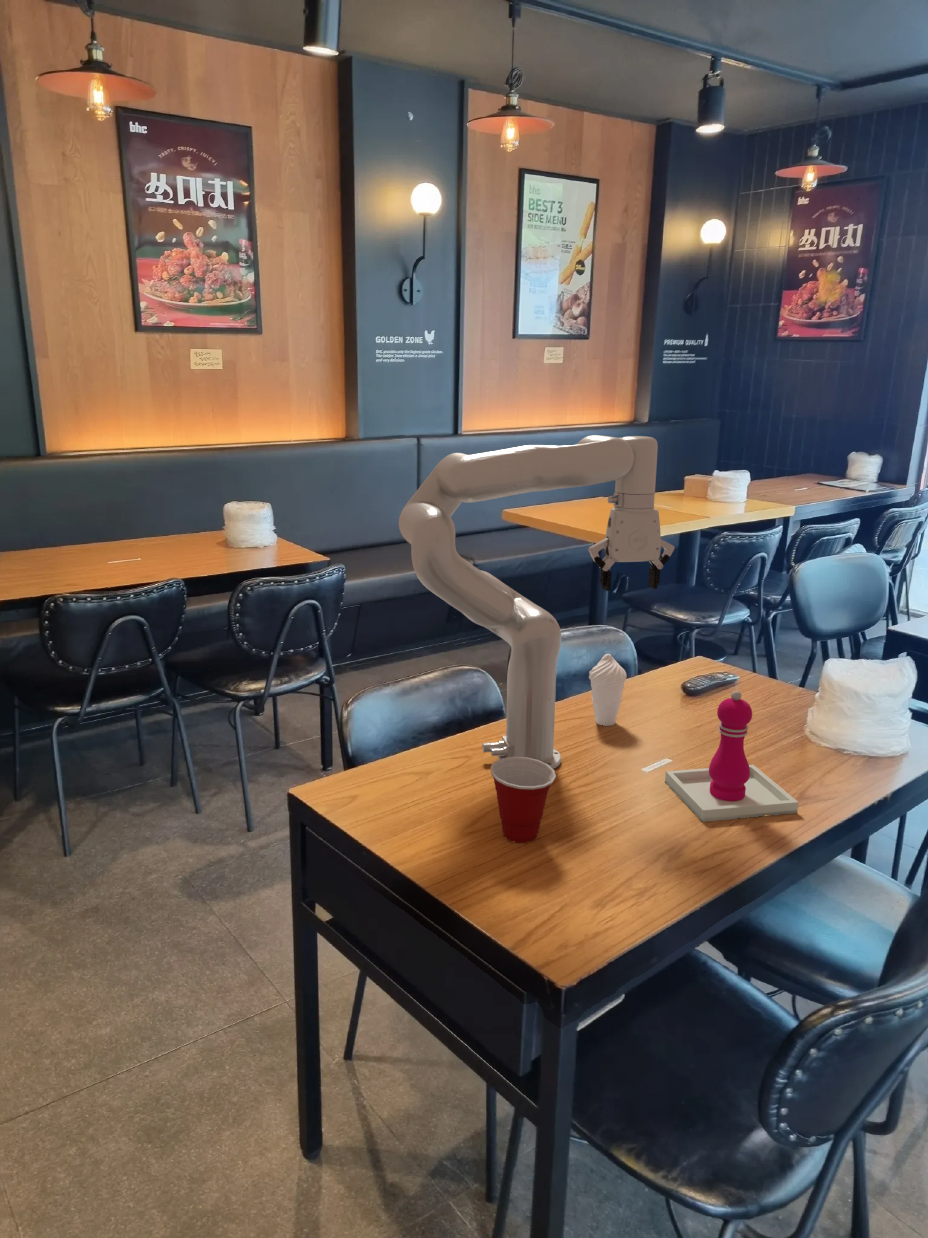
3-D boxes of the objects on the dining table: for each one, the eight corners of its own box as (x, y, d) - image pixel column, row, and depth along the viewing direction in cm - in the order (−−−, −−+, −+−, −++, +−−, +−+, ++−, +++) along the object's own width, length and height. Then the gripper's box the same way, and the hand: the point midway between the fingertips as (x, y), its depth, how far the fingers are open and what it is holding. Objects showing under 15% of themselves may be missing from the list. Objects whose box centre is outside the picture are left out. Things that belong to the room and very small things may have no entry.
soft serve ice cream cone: (626, 730, 192) (631, 660, 188) (588, 729, 192) (592, 660, 188) (620, 716, 200) (624, 649, 196) (584, 715, 200) (587, 648, 196)
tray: (702, 822, 151) (703, 810, 151) (665, 782, 167) (665, 771, 166) (797, 813, 155) (798, 802, 154) (752, 775, 170) (753, 764, 169)
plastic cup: (535, 858, 139) (537, 789, 136) (477, 840, 145) (477, 773, 142) (564, 830, 148) (567, 765, 145) (508, 814, 154) (510, 750, 151)
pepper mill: (752, 803, 157) (763, 698, 152) (712, 802, 157) (721, 697, 152) (741, 785, 164) (751, 684, 159) (702, 785, 164) (711, 684, 159)
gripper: (597, 505, 163) (593, 594, 167) (684, 503, 166) (678, 591, 170) (585, 500, 170) (581, 586, 174) (668, 498, 173) (663, 583, 177)
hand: (629, 588), depth 172 cm, fingers open, 9 cm apart
